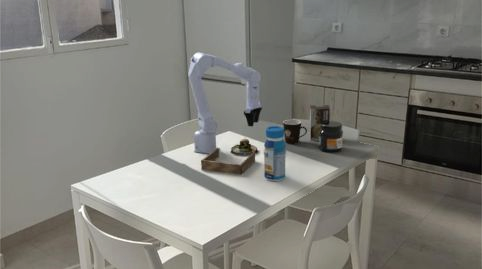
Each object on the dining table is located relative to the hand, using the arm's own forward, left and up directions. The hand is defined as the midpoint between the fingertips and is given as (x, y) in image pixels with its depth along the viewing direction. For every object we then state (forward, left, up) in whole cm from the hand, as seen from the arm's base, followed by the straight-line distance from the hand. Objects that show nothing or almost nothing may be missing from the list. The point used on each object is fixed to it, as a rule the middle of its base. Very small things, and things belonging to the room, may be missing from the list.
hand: (253, 124), depth 215 cm
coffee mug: (+18, +6, -10) cm, 21 cm away
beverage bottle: (+22, -36, -10) cm, 43 cm away
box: (0, -30, -9) cm, 31 cm away
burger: (0, -12, -10) cm, 16 cm away
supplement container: (+36, +3, -10) cm, 37 cm away
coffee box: (+28, +16, -10) cm, 34 cm away
